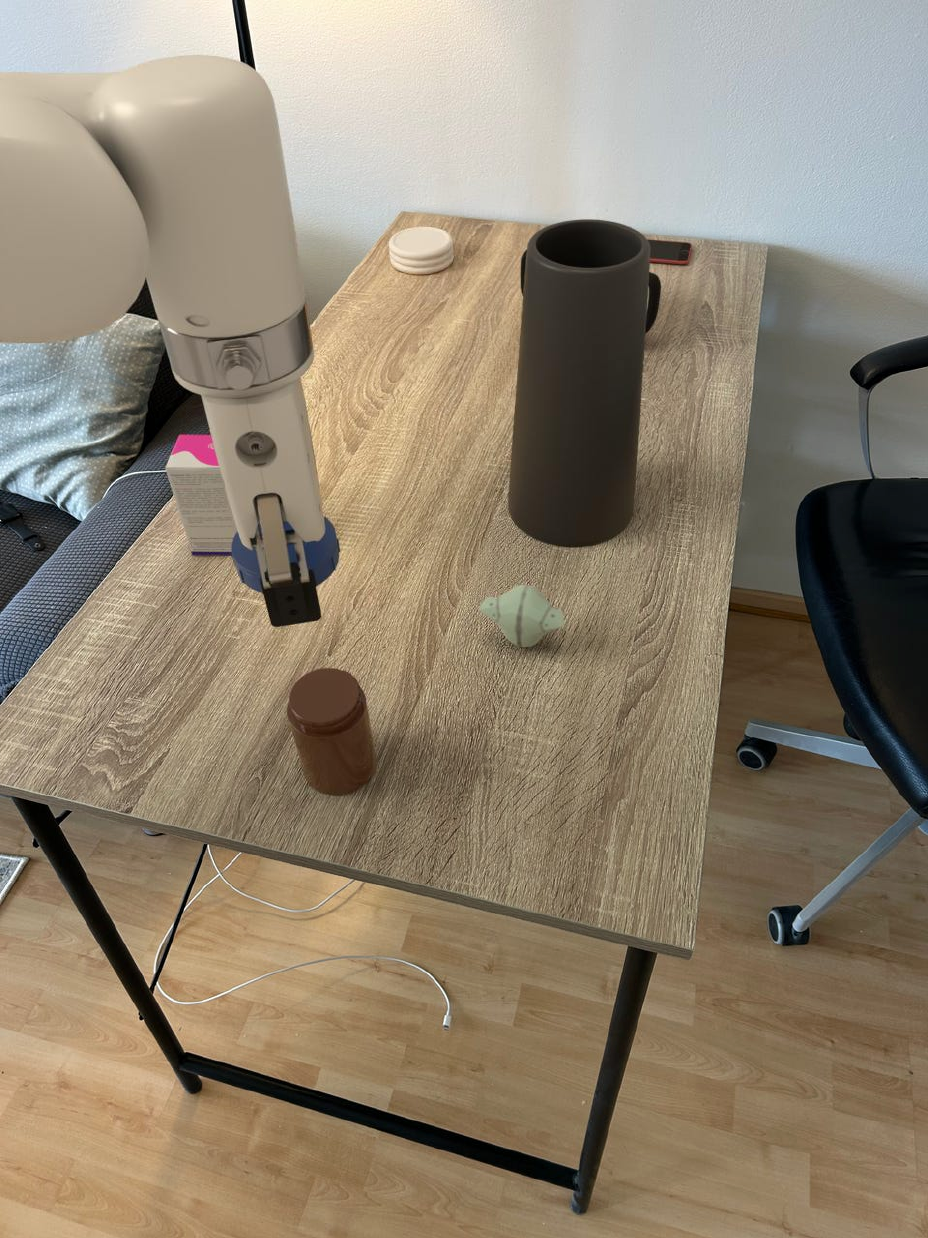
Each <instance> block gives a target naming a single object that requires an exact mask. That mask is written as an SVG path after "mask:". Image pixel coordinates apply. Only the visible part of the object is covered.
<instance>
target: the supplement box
mask: <svg viewBox="0 0 928 1238" xmlns="http://www.w3.org/2000/svg"><path fill="white" fill-rule="evenodd" d="M173 446H174V447H173V449H172V451H171V453H170V456H169V458H168V461H167V464H166V466H165V467H164V468H165V471H166V475H167V478H168V481H169V483H170V484H169V485H170V487H171V491H172V494H173V498H174V501H175V504H176V507H177V510H178V514H179V517H180V521H181V523H182V526H183V530H184V533H185V536H186V540H187V542H188V547H189V550H190V554H191V556H232V554H231V553H232V550H231V546H232V541H233V538H234V536H235V534H236V533H237V528H236V524H235V521H234V518H233V514H232V511H231V508H230V504H229V501H228V497H227V494H226V490H225V486H224V482H223V479H222V475H221V471H220V468H219V464H218V460H217V456H216V452H215V448H214V444H213V441H212V437H211V434H179V435H178V436H177V439H176V442H175V443H174V445H173Z"/></svg>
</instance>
